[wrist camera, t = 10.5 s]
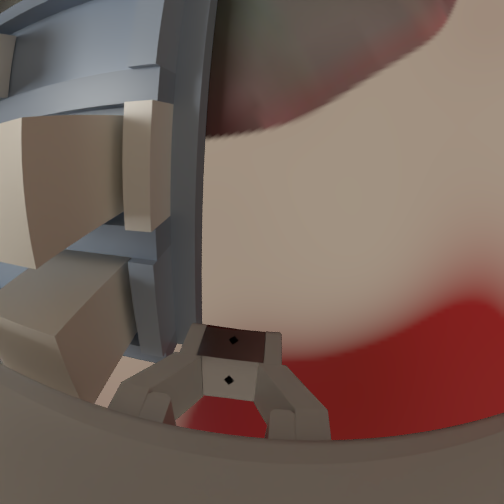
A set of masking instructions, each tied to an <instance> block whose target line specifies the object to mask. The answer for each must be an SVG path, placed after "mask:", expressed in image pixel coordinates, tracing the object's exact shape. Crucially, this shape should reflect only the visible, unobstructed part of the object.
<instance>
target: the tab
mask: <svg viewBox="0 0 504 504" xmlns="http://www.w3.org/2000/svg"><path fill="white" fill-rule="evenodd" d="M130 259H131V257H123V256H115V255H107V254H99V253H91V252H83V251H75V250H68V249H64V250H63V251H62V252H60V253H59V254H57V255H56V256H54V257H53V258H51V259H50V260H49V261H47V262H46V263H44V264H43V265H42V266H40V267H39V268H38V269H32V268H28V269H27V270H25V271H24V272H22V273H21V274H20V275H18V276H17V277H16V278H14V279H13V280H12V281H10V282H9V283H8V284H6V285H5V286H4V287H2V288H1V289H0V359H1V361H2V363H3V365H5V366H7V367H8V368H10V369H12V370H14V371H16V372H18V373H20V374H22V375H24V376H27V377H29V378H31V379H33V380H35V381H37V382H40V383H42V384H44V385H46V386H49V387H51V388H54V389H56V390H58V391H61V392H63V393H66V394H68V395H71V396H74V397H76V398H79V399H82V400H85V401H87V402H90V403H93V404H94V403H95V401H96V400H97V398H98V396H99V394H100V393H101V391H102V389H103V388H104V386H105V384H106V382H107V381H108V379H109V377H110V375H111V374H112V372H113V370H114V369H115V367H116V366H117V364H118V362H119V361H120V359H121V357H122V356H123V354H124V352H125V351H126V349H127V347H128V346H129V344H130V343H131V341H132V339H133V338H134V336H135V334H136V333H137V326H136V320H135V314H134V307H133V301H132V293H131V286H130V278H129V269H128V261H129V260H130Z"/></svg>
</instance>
